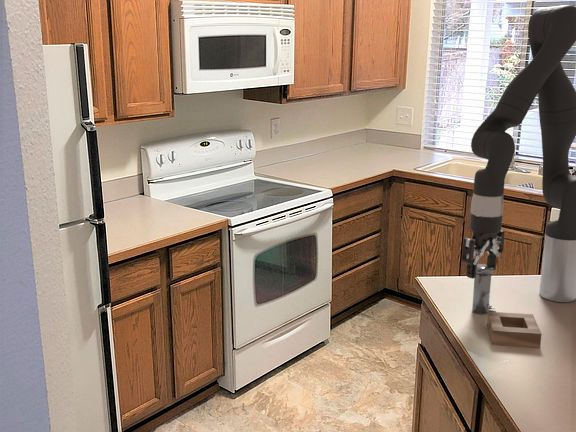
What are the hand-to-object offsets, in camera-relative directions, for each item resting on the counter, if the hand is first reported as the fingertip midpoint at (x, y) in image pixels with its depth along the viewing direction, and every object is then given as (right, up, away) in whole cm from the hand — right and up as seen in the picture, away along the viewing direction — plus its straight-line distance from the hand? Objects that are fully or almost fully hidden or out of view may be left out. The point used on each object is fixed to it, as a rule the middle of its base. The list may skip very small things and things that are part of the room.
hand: (481, 273), depth 155 cm
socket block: (+4, -14, -11) cm, 18 cm away
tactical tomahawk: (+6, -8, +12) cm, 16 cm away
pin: (+1, -10, +3) cm, 10 cm away
